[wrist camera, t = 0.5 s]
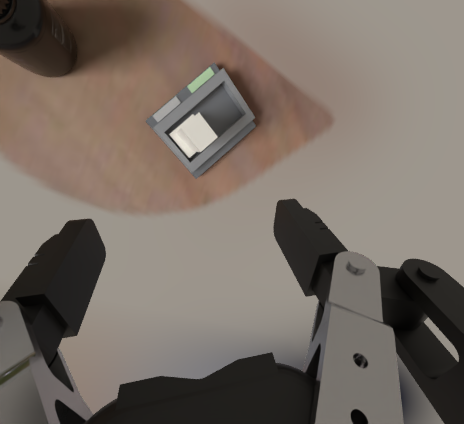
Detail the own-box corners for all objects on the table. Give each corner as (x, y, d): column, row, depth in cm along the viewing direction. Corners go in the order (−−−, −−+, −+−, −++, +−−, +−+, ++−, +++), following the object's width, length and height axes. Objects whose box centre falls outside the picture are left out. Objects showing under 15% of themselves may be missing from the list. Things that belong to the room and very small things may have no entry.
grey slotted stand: (146, 122, 30) (144, 119, 28) (211, 66, 31) (216, 58, 28) (194, 177, 34) (197, 180, 31) (252, 127, 35) (260, 125, 32)
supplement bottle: (18, -8, 24) (-107, -145, 13) (87, 36, 26) (35, -45, 15) (-5, 54, 24) (-142, -25, 13) (65, 91, 27) (0, 51, 16)
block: (168, 134, 30) (171, 129, 22) (191, 115, 30) (202, 103, 22) (187, 157, 31) (197, 160, 23) (209, 138, 32) (225, 135, 23)
